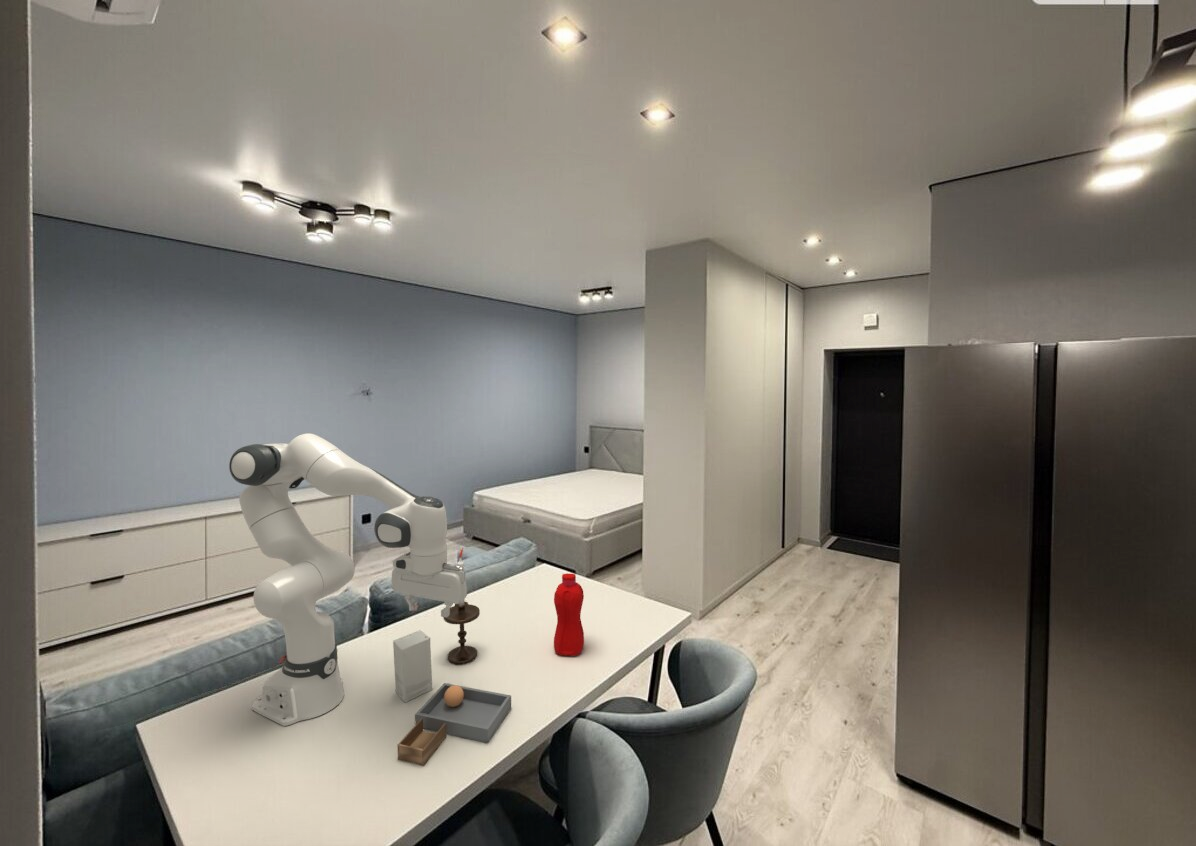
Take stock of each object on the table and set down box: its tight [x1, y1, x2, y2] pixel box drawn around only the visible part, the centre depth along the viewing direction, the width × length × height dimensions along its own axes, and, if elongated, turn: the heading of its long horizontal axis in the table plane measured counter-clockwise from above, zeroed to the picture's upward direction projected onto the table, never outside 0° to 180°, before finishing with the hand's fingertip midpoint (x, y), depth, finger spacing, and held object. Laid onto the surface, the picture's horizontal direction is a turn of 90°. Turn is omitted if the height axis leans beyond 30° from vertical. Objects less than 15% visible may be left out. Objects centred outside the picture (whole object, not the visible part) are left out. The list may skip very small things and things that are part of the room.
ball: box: [444, 684, 464, 707], centre depth 130 cm, size 5×5×5 cm
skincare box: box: [392, 629, 433, 703], centre depth 135 cm, size 8×7×16 cm
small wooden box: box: [397, 719, 447, 767], centre depth 115 cm, size 7×9×4 cm
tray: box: [414, 682, 512, 744], centre depth 126 cm, size 20×13×4 cm, turn 75°
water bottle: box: [553, 573, 585, 657], centre depth 157 cm, size 9×11×25 cm
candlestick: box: [442, 547, 481, 666], centre depth 152 cm, size 11×11×35 cm
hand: (429, 613), depth 126 cm, fingers open, 8 cm apart
